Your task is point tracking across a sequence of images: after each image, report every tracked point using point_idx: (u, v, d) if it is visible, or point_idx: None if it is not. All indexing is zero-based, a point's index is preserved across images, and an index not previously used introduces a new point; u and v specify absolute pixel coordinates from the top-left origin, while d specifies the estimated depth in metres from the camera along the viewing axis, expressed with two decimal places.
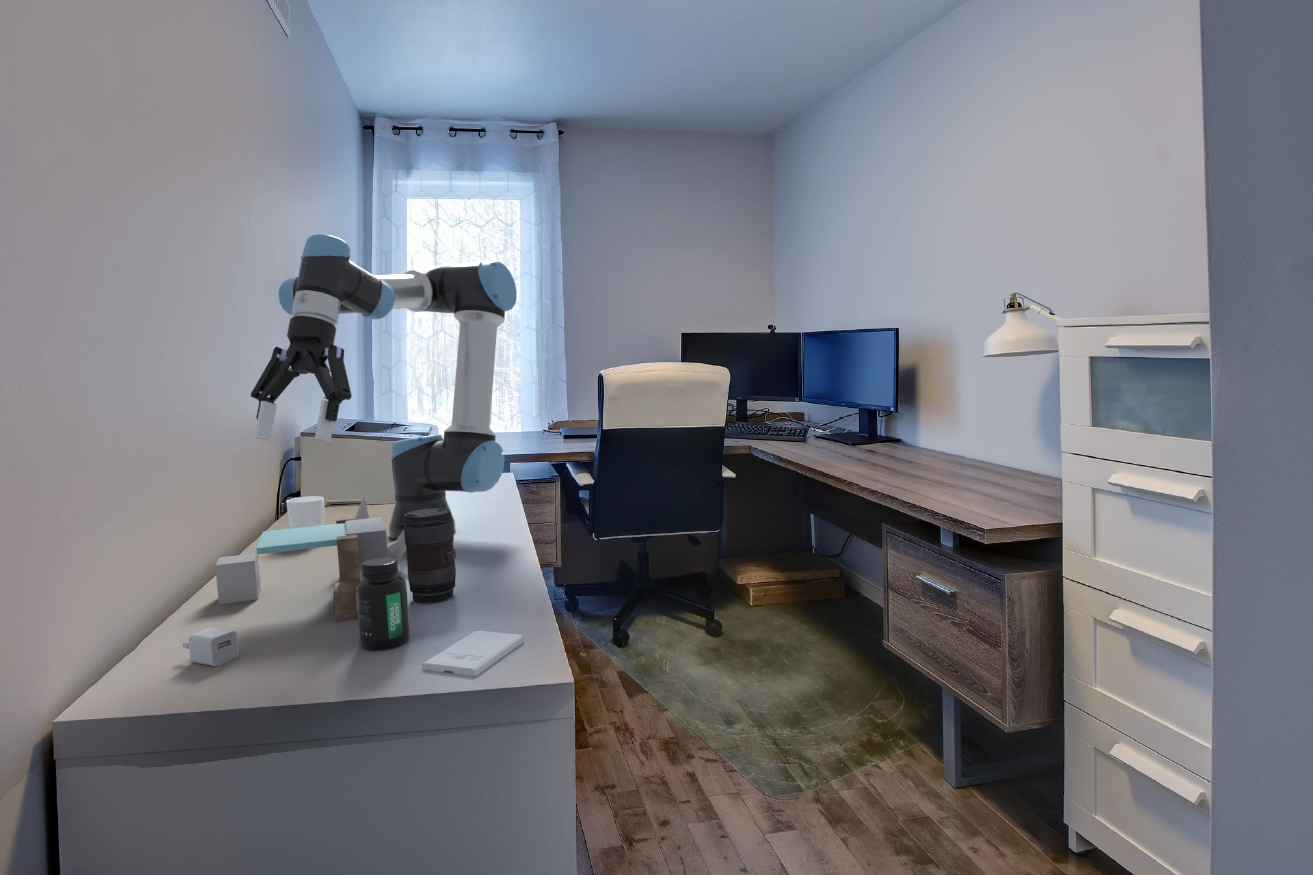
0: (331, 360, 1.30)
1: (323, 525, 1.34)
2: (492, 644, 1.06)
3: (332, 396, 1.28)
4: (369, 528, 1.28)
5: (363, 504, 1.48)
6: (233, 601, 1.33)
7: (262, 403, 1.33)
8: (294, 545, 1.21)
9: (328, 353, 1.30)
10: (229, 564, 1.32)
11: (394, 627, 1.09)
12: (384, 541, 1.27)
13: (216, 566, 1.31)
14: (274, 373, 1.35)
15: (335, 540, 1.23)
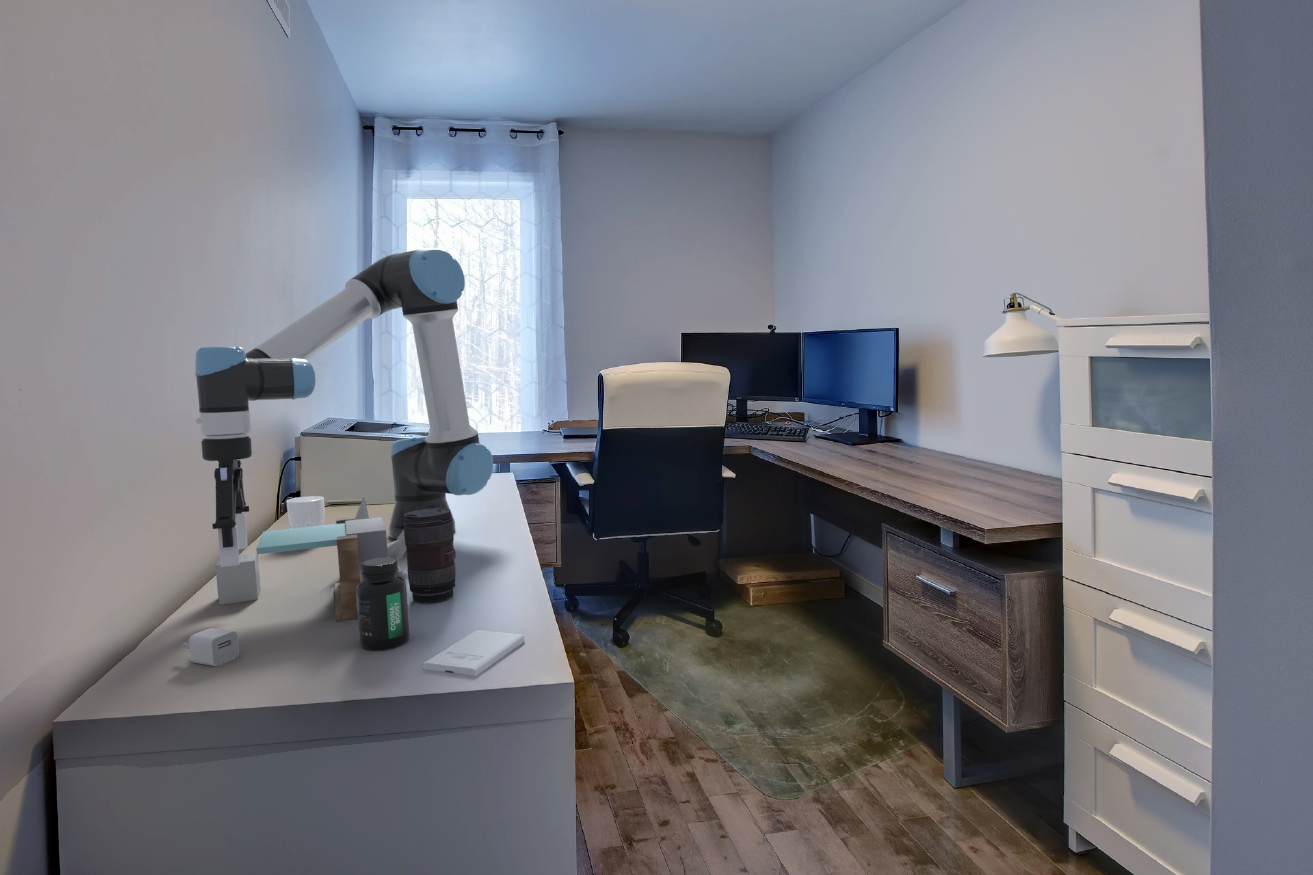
0: (216, 486, 1.27)
1: (323, 525, 1.34)
2: (493, 644, 1.06)
3: None
4: (369, 528, 1.28)
5: (363, 504, 1.48)
6: (233, 601, 1.33)
7: None
8: (294, 545, 1.21)
9: None
10: None
11: (394, 627, 1.09)
12: (384, 541, 1.27)
13: (216, 566, 1.31)
14: None
15: (335, 540, 1.23)
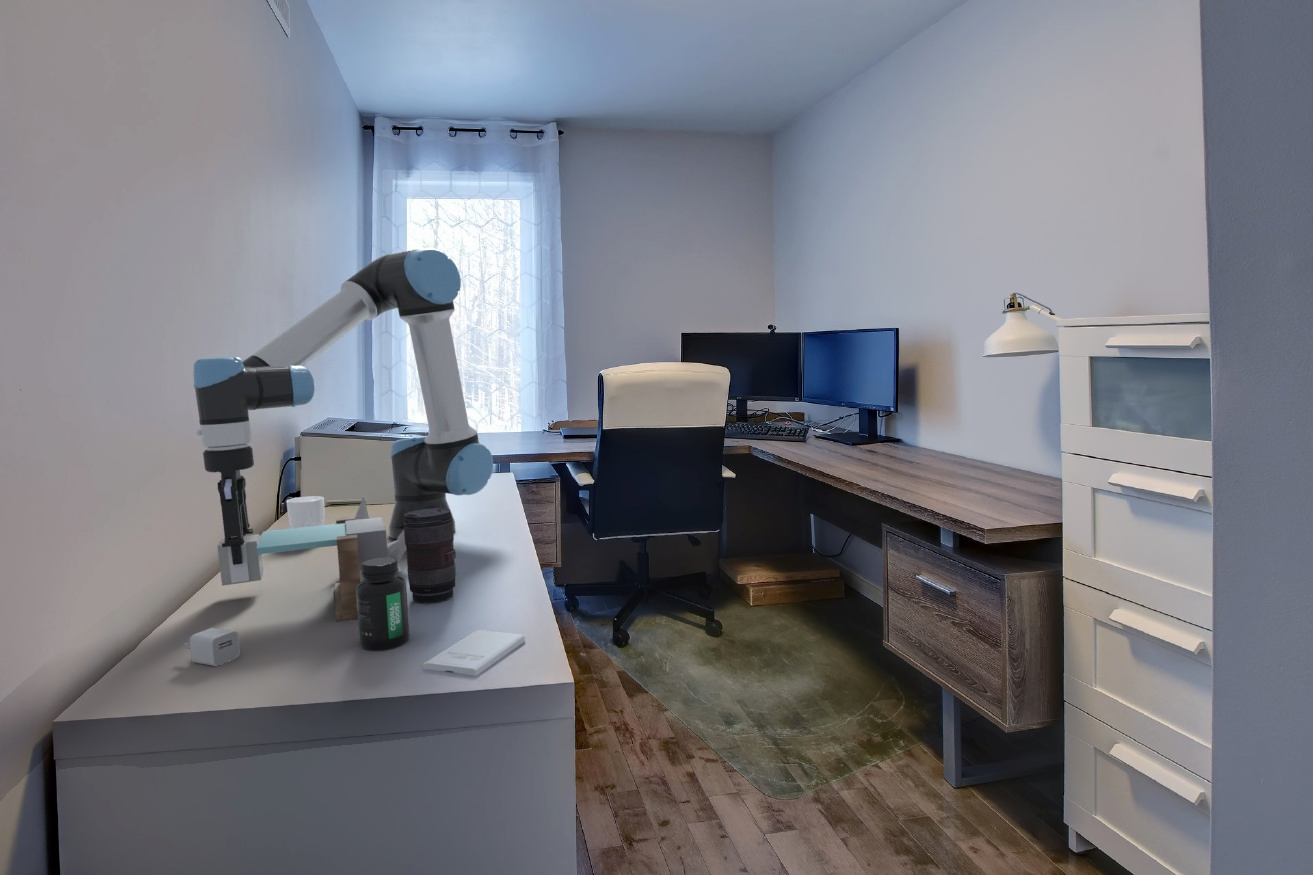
0: (221, 504, 1.29)
1: (323, 525, 1.34)
2: (493, 644, 1.07)
3: (227, 544, 1.30)
4: (369, 528, 1.28)
5: (363, 504, 1.48)
6: (236, 582, 1.33)
7: None
8: (294, 545, 1.21)
9: None
10: None
11: (394, 627, 1.09)
12: (384, 541, 1.27)
13: (218, 547, 1.32)
14: None
15: (335, 540, 1.23)
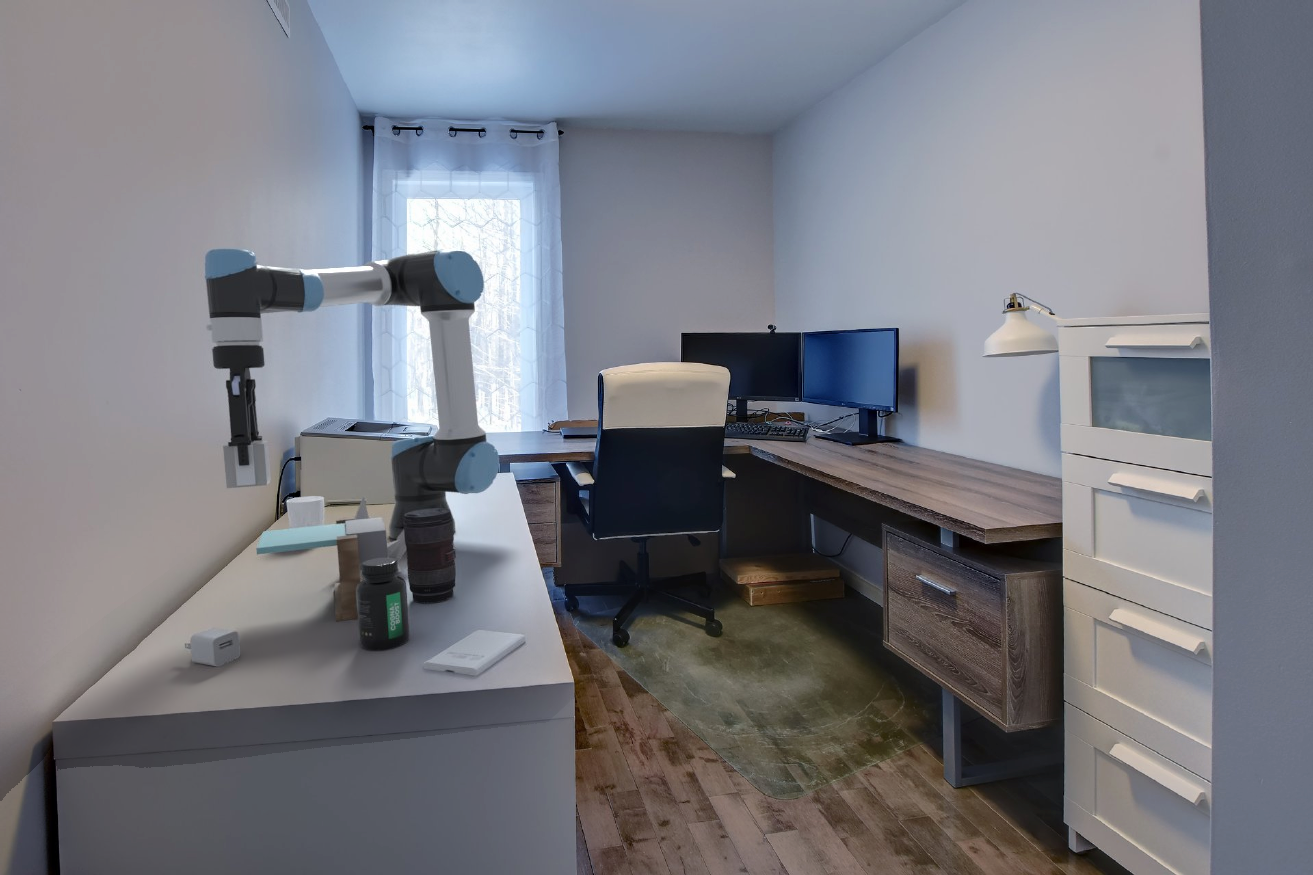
0: None
1: (323, 525, 1.34)
2: (494, 644, 1.07)
3: (234, 443, 1.25)
4: (369, 528, 1.28)
5: (363, 504, 1.48)
6: None
7: None
8: (294, 545, 1.21)
9: None
10: None
11: (394, 627, 1.09)
12: (384, 541, 1.27)
13: (224, 447, 1.26)
14: None
15: (335, 540, 1.23)
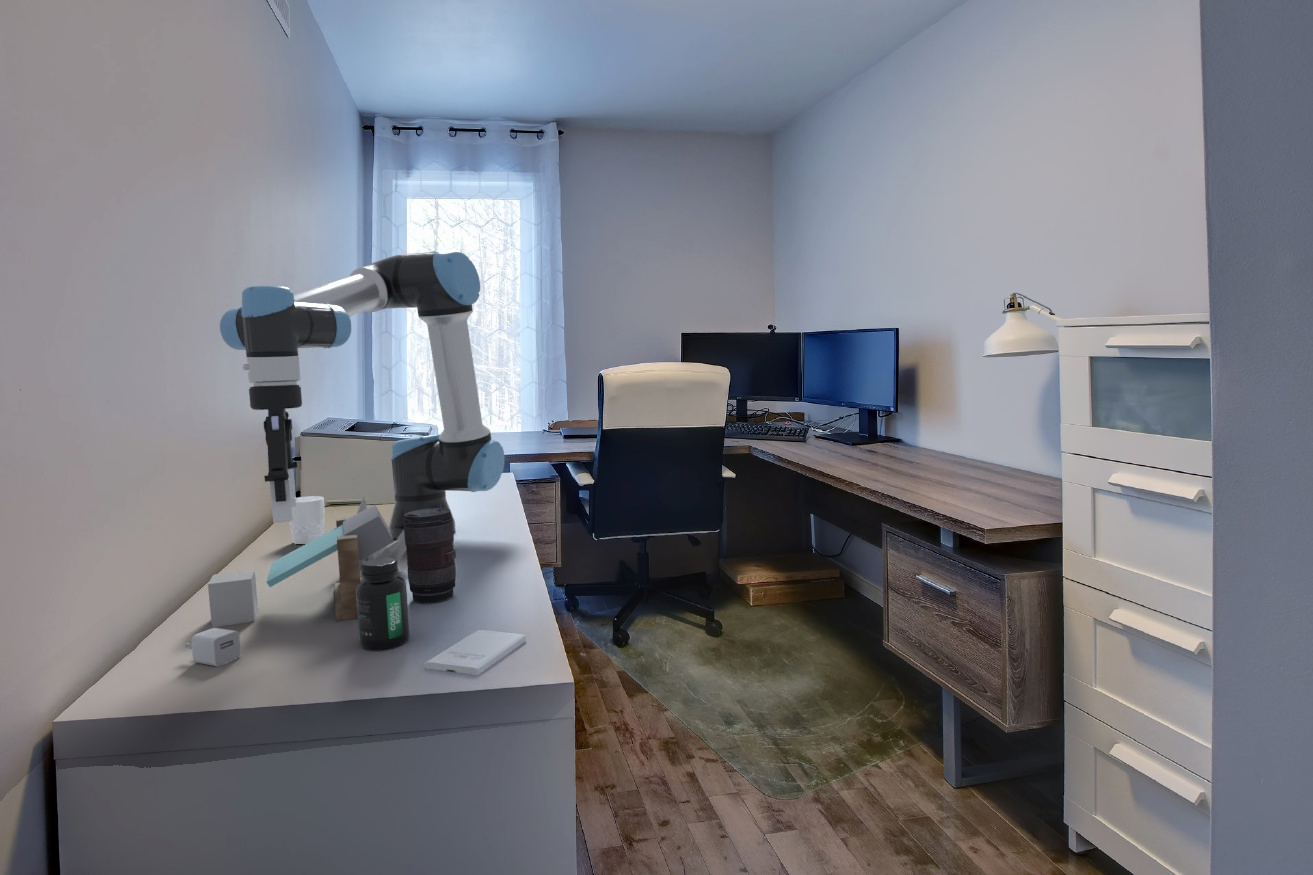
0: (267, 435, 1.18)
1: (324, 534, 1.34)
2: (495, 644, 1.07)
3: None
4: (364, 520, 1.28)
5: (363, 504, 1.48)
6: (235, 582, 1.21)
7: None
8: (300, 565, 1.21)
9: None
10: (239, 622, 1.22)
11: (394, 627, 1.09)
12: (382, 526, 1.26)
13: (253, 620, 1.23)
14: None
15: (336, 545, 1.23)
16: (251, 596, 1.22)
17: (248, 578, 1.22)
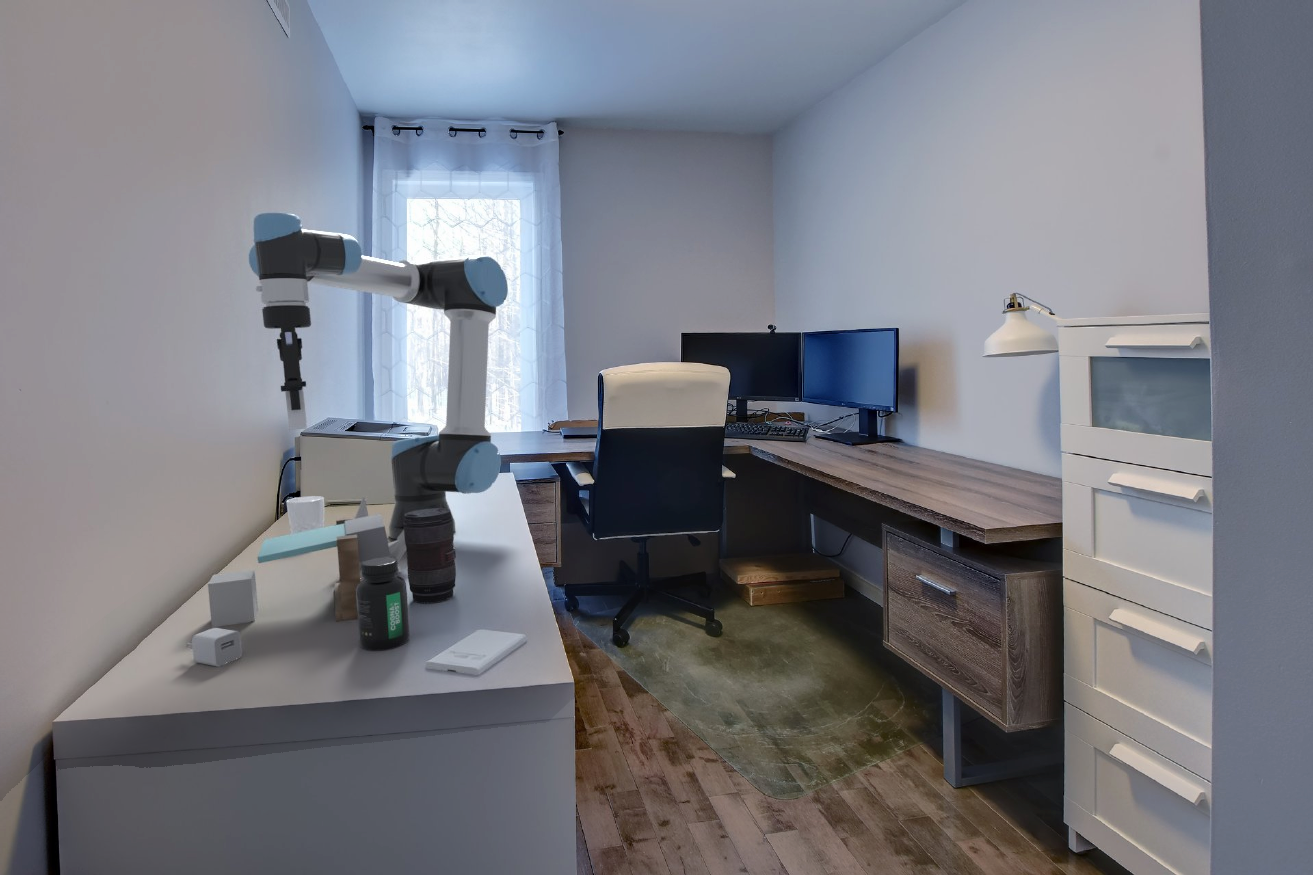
0: (282, 349, 1.29)
1: (323, 527, 1.34)
2: (495, 644, 1.07)
3: (286, 387, 1.28)
4: (368, 526, 1.28)
5: (363, 504, 1.48)
6: (235, 582, 1.21)
7: None
8: (295, 550, 1.21)
9: None
10: (239, 622, 1.22)
11: (394, 627, 1.09)
12: (385, 537, 1.26)
13: (253, 620, 1.23)
14: None
15: (335, 541, 1.23)
16: (251, 596, 1.22)
17: (248, 578, 1.22)
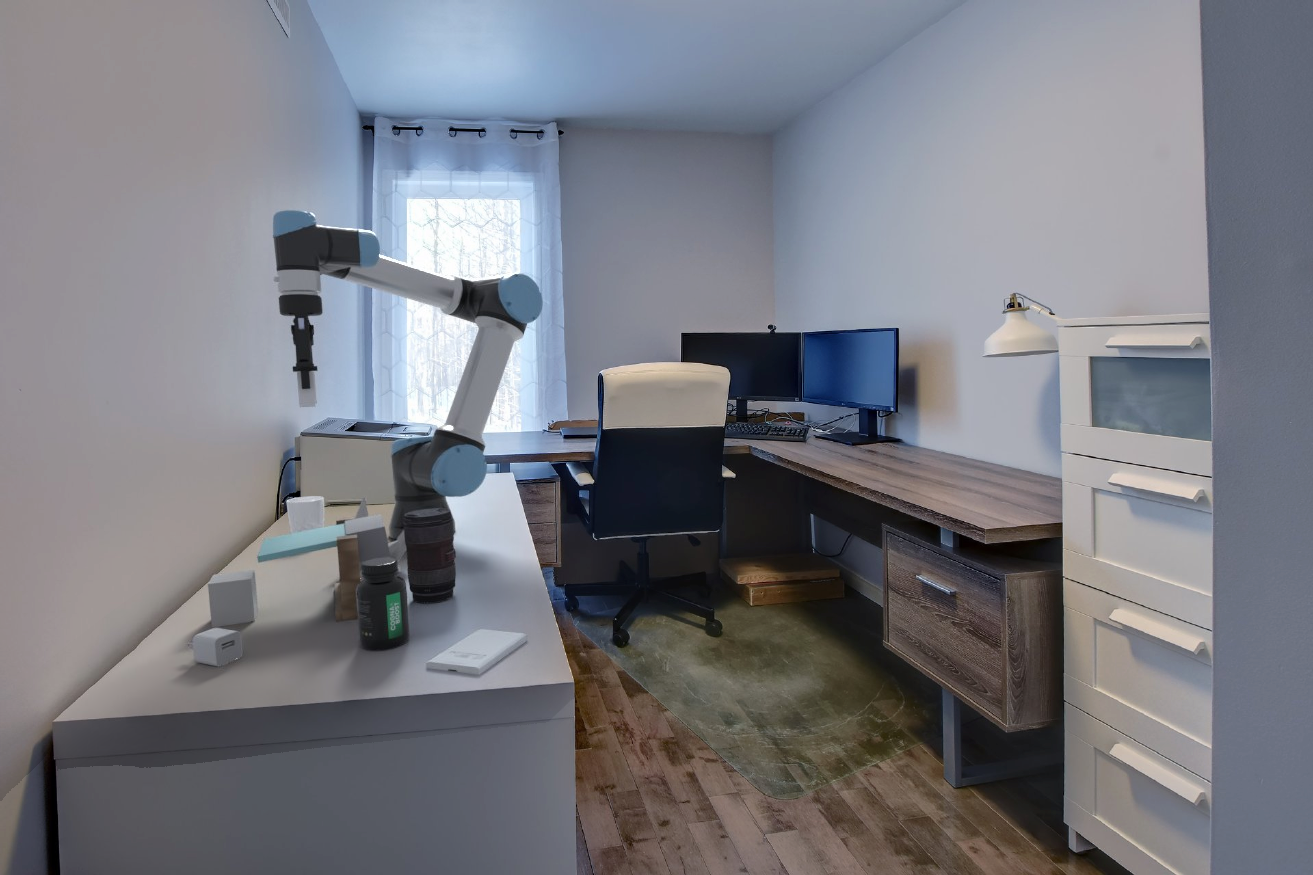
0: (294, 333, 1.41)
1: (323, 527, 1.34)
2: (496, 643, 1.07)
3: (297, 367, 1.41)
4: (368, 526, 1.28)
5: (363, 504, 1.48)
6: (235, 582, 1.21)
7: None
8: (294, 550, 1.21)
9: None
10: (239, 622, 1.22)
11: (394, 627, 1.09)
12: (385, 538, 1.26)
13: (253, 620, 1.23)
14: None
15: (335, 541, 1.23)
16: (251, 596, 1.22)
17: (248, 578, 1.22)
